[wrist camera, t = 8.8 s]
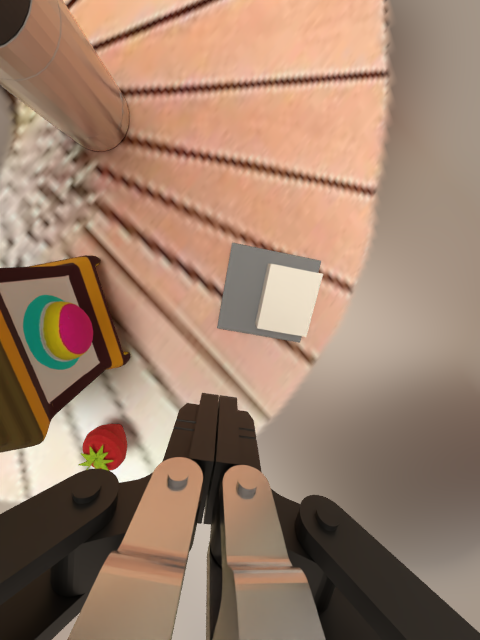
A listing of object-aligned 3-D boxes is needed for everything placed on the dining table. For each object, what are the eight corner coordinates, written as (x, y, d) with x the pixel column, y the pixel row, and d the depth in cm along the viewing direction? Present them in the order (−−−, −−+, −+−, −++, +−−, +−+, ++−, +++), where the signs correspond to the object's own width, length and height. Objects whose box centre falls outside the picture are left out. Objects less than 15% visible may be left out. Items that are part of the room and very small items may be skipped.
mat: (217, 327, 42) (217, 328, 41) (232, 242, 38) (232, 242, 38) (299, 341, 43) (299, 342, 42) (320, 260, 40) (321, 260, 39)
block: (257, 328, 38) (306, 336, 39) (271, 263, 36) (323, 274, 37) (254, 323, 41) (300, 331, 42) (267, 263, 39) (315, 272, 40)
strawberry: (117, 448, 46) (88, 498, 37) (94, 418, 45) (56, 461, 35) (144, 435, 46) (122, 482, 36) (121, 403, 44) (91, 444, 35)
